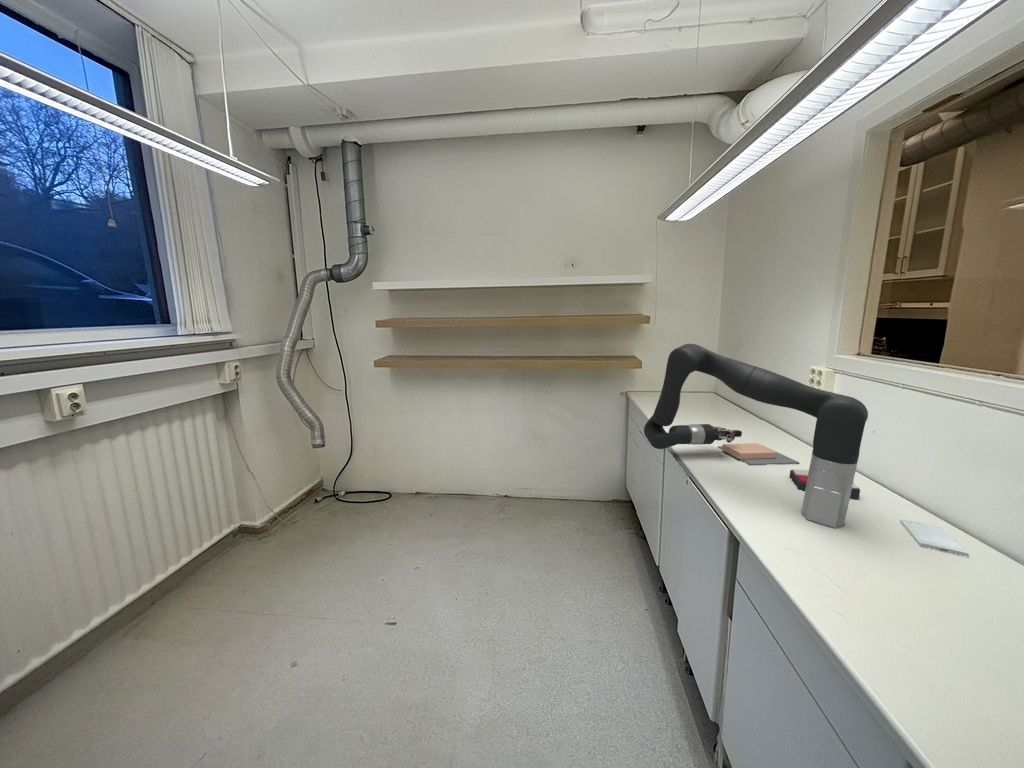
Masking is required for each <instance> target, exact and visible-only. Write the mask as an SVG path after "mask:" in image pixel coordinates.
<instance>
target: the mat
mask: <svg viewBox="0 0 1024 768" xmlns="http://www.w3.org/2000/svg"><path fill="white" fill-rule="evenodd" d="M761 445H762V446H764V445H763V444H761ZM716 448H718V449H719V450H722V445H720V446H719V445H718V446H717V447H716ZM770 449H771V450H773V451H775V450H774V449H772V448H770ZM722 451H723V450H722ZM775 452H777V456H776V458H775V459H743V460H742V461H741V462H743V463H744V462H745V464H746V463H747V465H748V464H749V465H748V466H768V465H767V464H777V465H796V464H795V463H799V464H800V462H799V461H798V460H795V459H793V458H791V457H789V456H787V455H785V454H782V453H780V452H778V451H775Z"/></svg>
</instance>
